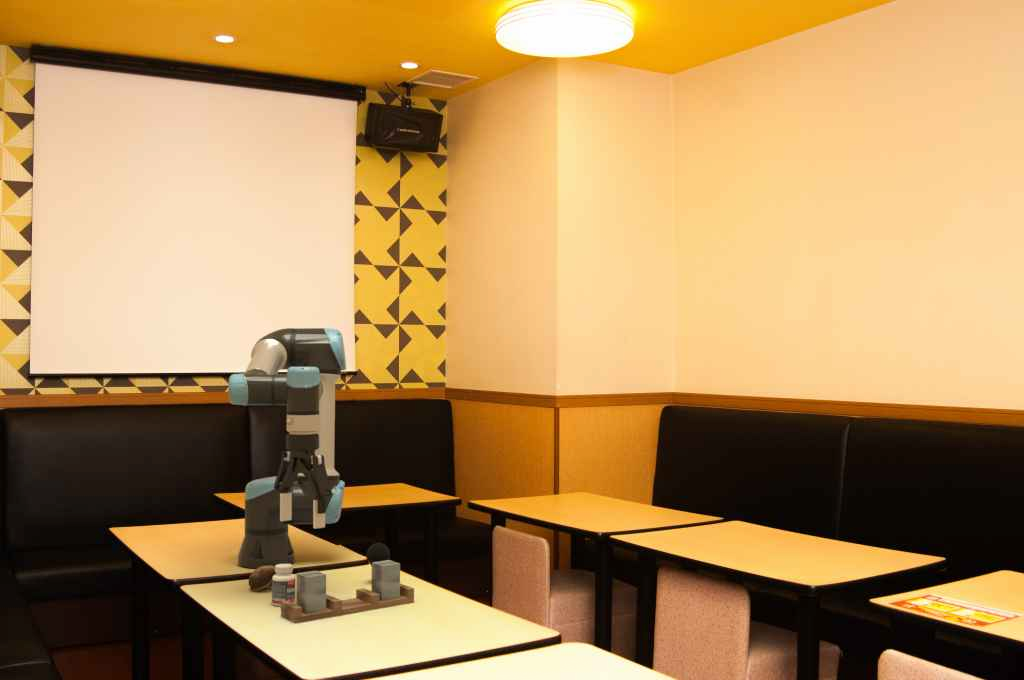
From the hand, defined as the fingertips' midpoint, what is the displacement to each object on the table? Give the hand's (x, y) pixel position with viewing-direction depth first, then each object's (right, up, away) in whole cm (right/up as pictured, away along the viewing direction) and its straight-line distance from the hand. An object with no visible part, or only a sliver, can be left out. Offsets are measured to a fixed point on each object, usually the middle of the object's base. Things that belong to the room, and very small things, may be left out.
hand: (302, 524), depth 234 cm
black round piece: (+15, -19, +19) cm, 31 cm away
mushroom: (-12, -18, +12) cm, 25 cm away
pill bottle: (-4, -18, -2) cm, 19 cm away
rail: (+12, -18, -6) cm, 23 cm away
